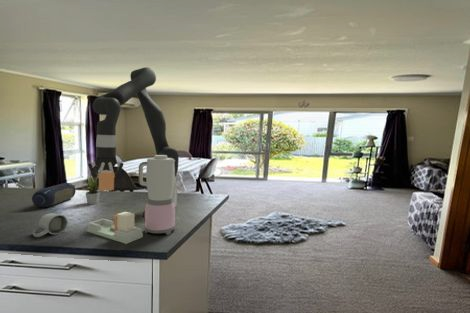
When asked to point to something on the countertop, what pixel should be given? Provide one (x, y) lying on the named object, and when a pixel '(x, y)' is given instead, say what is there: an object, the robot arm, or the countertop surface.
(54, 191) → the portable speaker
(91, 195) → the house plant
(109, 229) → the rail
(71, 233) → the countertop surface
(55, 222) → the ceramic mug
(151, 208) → the blender
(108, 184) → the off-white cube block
